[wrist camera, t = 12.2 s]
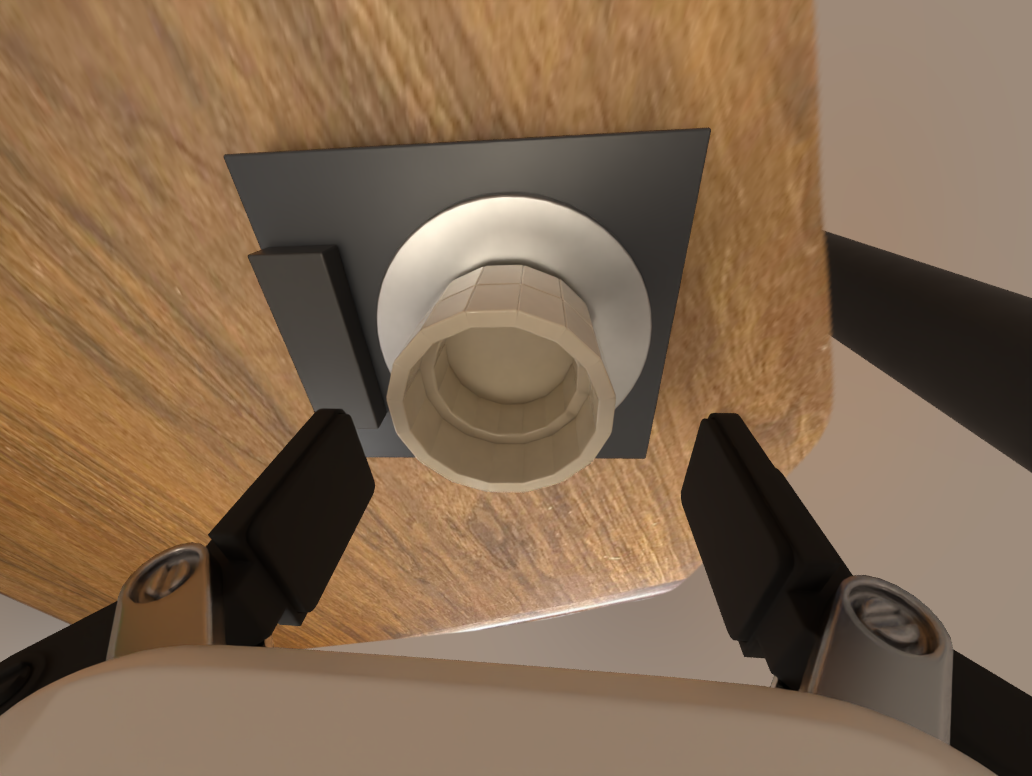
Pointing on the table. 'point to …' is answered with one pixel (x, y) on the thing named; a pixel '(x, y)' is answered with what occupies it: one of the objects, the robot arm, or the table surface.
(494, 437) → the bowl
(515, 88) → the table surface
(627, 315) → the scale
